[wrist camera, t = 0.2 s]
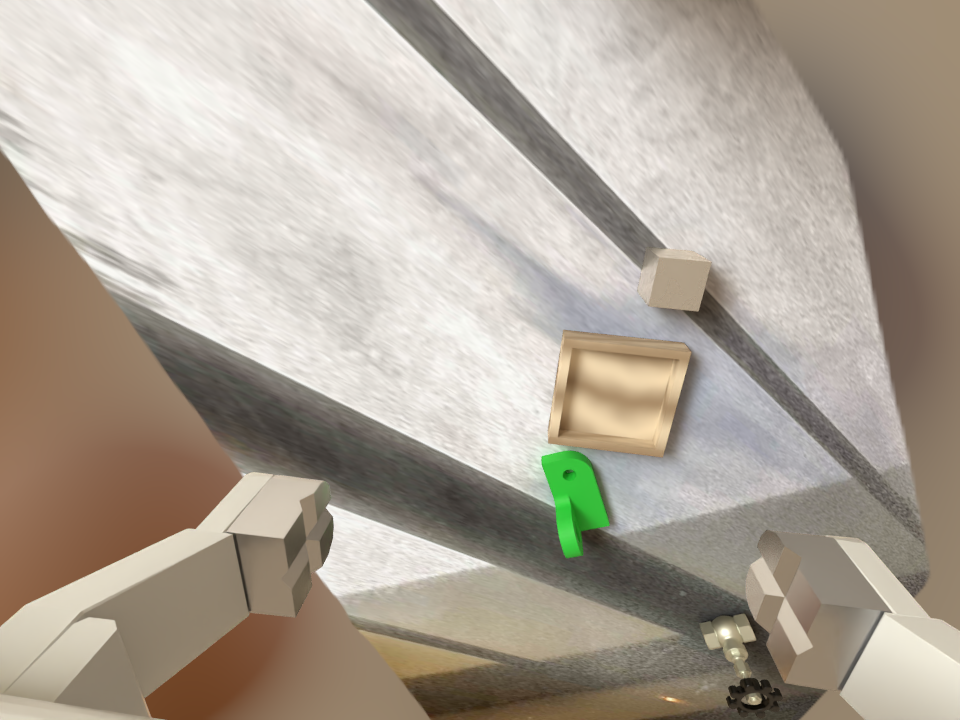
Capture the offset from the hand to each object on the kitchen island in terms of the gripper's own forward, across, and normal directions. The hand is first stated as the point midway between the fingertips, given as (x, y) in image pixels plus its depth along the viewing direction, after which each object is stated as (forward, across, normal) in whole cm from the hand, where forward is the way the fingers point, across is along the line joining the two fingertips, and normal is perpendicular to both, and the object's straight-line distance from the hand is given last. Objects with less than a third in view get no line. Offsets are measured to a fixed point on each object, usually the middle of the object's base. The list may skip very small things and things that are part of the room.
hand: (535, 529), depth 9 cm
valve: (+47, -33, +56) cm, 81 cm away
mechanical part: (+48, -9, +35) cm, 60 cm away
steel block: (+47, -15, +5) cm, 50 cm away
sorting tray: (+47, -11, +20) cm, 52 cm away
